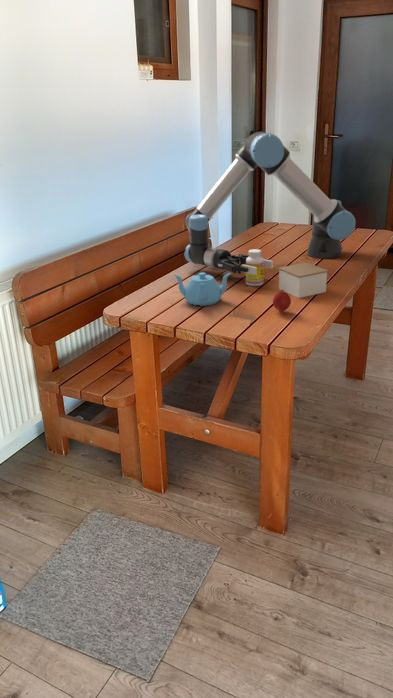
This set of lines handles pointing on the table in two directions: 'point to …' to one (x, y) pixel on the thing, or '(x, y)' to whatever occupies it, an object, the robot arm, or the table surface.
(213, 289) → the teapot
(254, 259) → the supplement bottle
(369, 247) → the table surface
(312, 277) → the riser block
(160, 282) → the table surface
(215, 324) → the table surface
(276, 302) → the onion
